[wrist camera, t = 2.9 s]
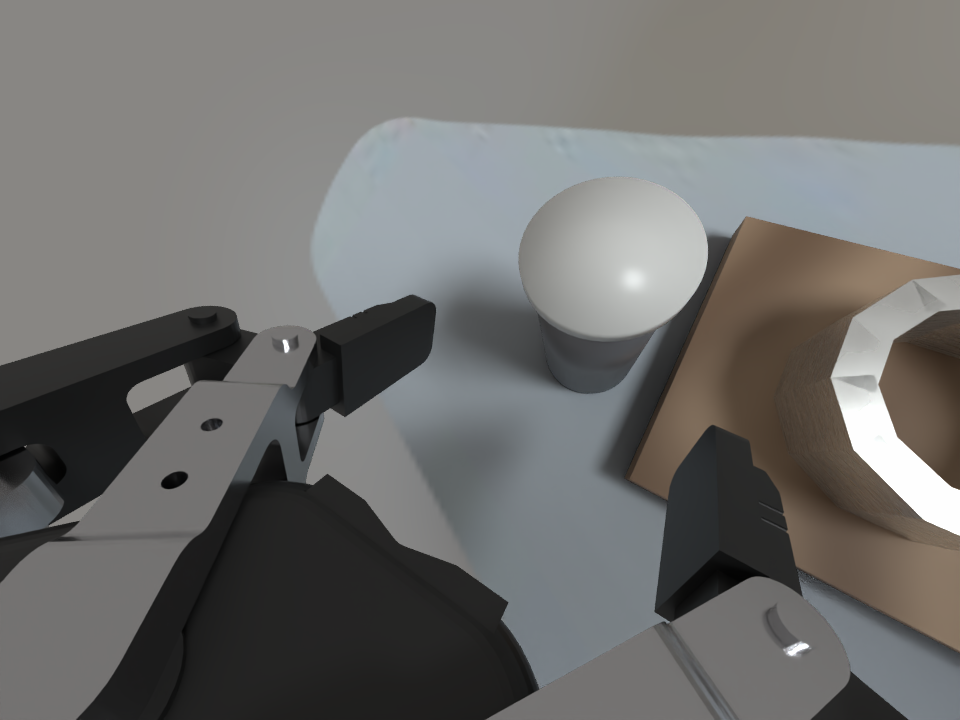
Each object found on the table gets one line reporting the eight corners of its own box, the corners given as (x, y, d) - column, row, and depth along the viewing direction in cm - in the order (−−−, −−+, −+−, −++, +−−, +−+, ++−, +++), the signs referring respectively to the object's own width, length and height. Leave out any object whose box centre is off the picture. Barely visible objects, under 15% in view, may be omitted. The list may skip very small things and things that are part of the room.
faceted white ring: (1091, 367, 13) (1269, 334, 10) (1035, 596, 12) (1216, 647, 8) (815, 288, 16) (881, 241, 13) (746, 465, 15) (798, 464, 11)
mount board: (1191, 356, 14) (1263, 343, 12) (1114, 734, 11) (1192, 772, 10) (732, 235, 19) (746, 216, 17) (624, 478, 17) (629, 479, 15)
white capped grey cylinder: (655, 329, 18) (736, 202, 10) (615, 416, 18) (663, 364, 9) (564, 296, 20) (563, 160, 11) (524, 374, 19) (489, 294, 10)
